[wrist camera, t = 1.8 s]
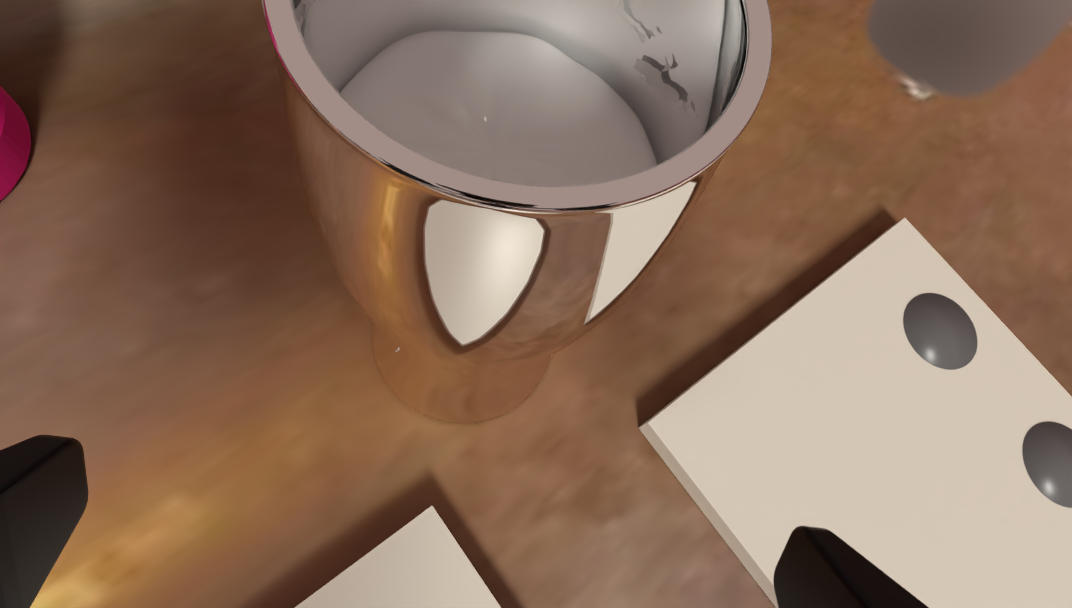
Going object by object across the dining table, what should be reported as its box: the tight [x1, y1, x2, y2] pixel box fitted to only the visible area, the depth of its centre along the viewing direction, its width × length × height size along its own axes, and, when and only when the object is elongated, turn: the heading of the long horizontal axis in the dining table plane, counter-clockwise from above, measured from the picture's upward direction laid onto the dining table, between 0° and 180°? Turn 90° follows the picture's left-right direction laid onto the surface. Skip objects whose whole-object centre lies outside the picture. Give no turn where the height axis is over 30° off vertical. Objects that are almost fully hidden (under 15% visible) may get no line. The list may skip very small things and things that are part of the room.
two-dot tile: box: [639, 218, 1072, 608], centre depth 22 cm, size 14×14×1 cm
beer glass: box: [262, 0, 772, 424], centre depth 15 cm, size 7×7×15 cm
